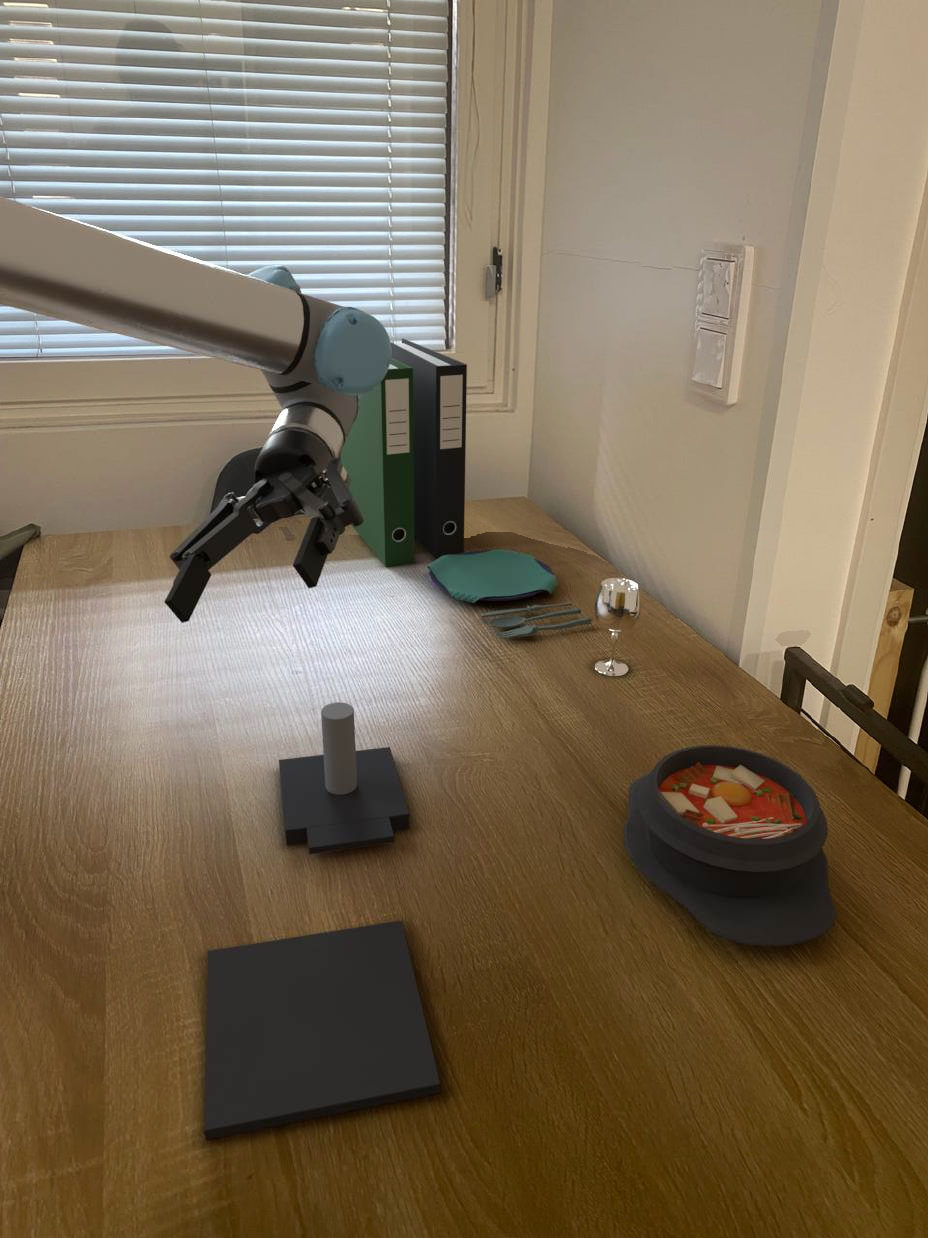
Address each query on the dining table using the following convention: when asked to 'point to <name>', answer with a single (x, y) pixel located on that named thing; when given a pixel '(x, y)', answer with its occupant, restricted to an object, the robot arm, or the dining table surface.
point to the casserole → (734, 844)
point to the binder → (411, 456)
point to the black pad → (313, 1029)
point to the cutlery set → (501, 586)
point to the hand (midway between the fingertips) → (238, 594)
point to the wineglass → (616, 617)
